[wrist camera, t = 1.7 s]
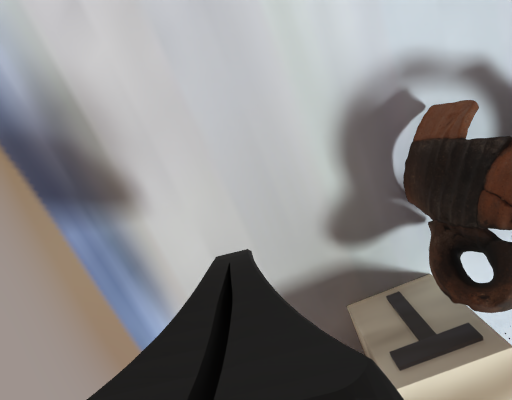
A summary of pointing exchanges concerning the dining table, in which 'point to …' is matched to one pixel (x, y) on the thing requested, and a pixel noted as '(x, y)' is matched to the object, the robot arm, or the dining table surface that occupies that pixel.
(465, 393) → the letter cube
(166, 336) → the robot arm
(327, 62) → the dining table surface
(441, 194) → the brown curved wooden piece
